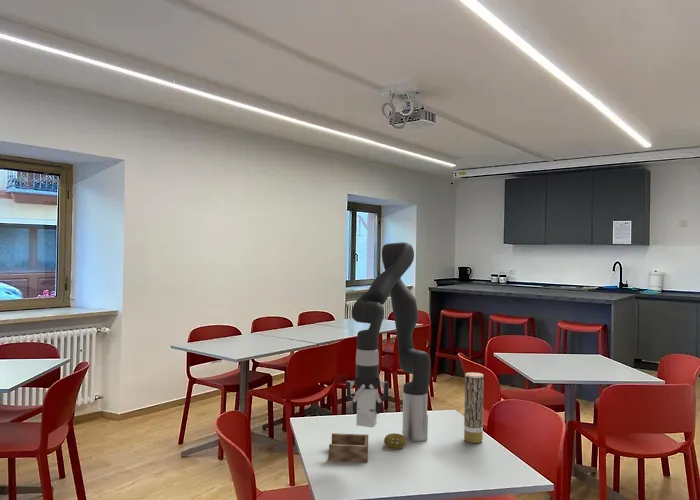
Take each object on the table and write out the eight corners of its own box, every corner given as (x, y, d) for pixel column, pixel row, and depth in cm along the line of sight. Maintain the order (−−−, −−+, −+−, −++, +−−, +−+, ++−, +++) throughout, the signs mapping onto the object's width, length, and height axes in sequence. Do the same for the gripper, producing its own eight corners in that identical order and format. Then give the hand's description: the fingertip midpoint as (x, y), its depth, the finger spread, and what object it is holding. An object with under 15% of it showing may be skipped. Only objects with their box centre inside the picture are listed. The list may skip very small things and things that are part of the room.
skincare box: (355, 426, 170) (356, 388, 170) (359, 421, 175) (359, 385, 175) (374, 428, 169) (374, 390, 169) (377, 423, 173) (377, 386, 173)
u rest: (368, 449, 187) (368, 434, 187) (367, 462, 175) (368, 446, 175) (331, 447, 187) (332, 433, 187) (328, 460, 175) (329, 445, 175)
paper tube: (462, 442, 196) (463, 375, 196) (465, 436, 202) (466, 371, 203) (481, 445, 193) (482, 377, 194) (483, 439, 200) (484, 373, 200)
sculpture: (410, 435, 190) (397, 441, 185) (410, 446, 190) (396, 452, 185) (393, 430, 196) (379, 435, 190) (393, 441, 196) (379, 446, 190)
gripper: (388, 360, 175) (388, 410, 175) (345, 359, 176) (345, 409, 176) (389, 365, 168) (389, 417, 168) (345, 364, 168) (344, 416, 168)
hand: (366, 413), depth 172 cm, fingers closed on skincare box, 6 cm apart
